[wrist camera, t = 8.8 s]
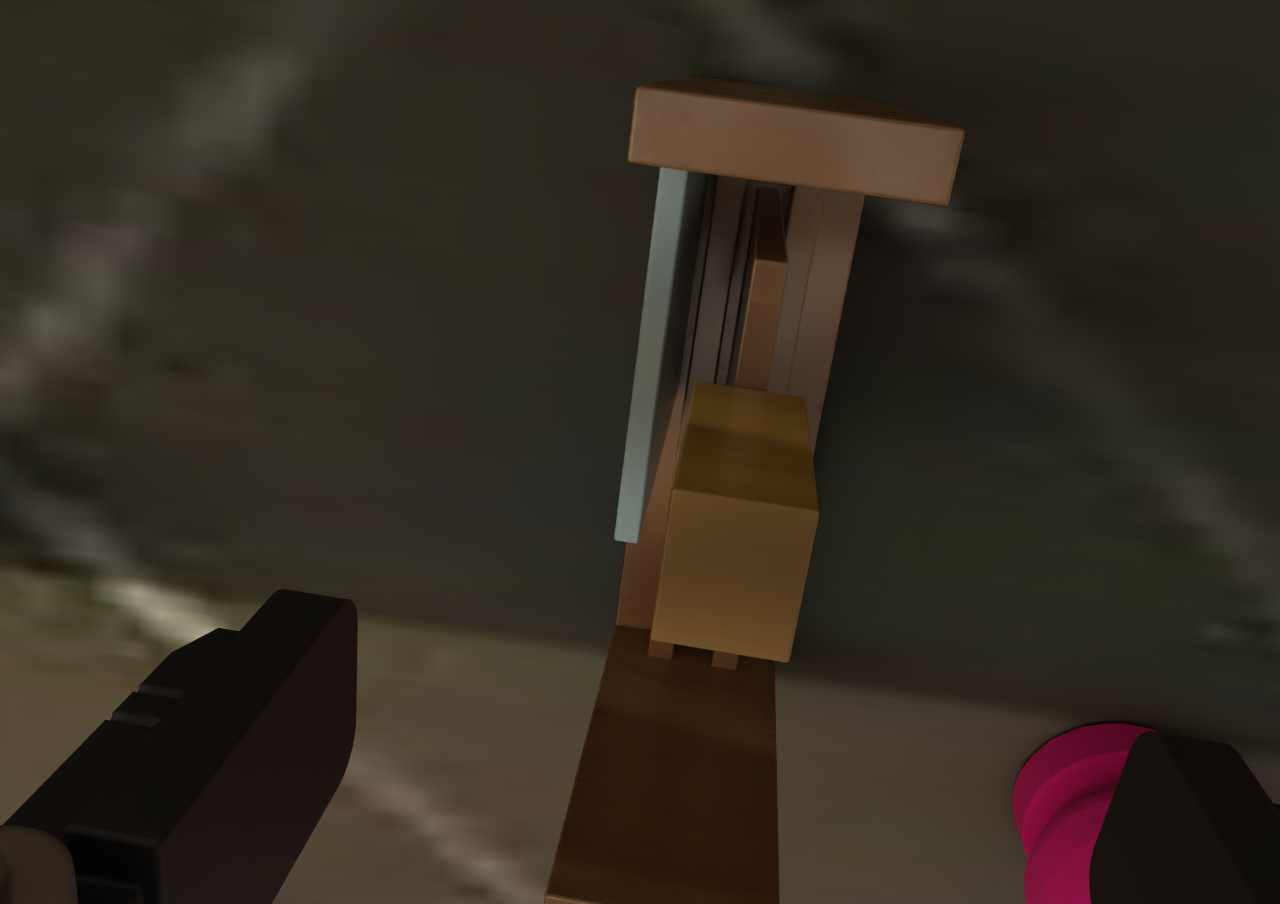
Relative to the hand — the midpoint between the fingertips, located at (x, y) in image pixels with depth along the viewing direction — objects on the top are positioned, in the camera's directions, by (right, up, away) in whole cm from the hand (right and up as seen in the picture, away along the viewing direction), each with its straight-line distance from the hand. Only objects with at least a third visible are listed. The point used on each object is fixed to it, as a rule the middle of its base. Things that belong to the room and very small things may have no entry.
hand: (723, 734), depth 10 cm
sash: (+2, +7, +18) cm, 19 cm away
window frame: (+2, +5, +21) cm, 21 cm away
